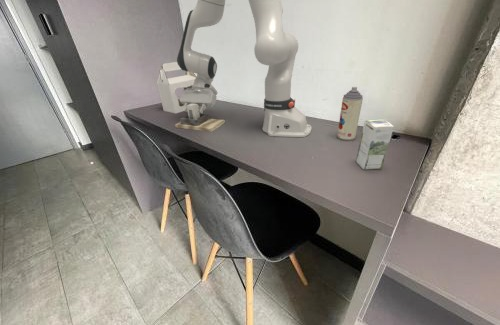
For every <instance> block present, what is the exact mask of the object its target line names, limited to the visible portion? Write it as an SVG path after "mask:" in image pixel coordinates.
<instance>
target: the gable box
mask: <svg viewBox="0 0 500 325" xmlns="http://www.w3.org/2000/svg"><path fill="white" fill-rule="evenodd" d="M160 67H161V69H160V70H159V74H158V78H157V81H156V87H157V90H158V93H159V97H160V102H161V104H162V110H163V111H164V112H167V113H172V114H175V115H176V114H178V113H182V112H185V111H184V110H185V105H183V104H182V103H181V102H180V99H178V96H177V95H176V90H177V89H180V88H181V89H182V88H183V91H184V90H185V89H187V88H192V86H193V83H194V80H195V78H196V77H197V74H196V73H193V72H189V71H184V75H180V76H175V77H169V78H168V77H167V75H166V73H168V72H172V71H179V70H182V69H181V68H180V67H179V65H178V63H177V61H172V62H165V63H162V65H160Z"/></svg>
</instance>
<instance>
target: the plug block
mask: <svg viewBox="0 0 500 325" xmlns="http://www.w3.org/2000/svg"><path fill="white" fill-rule="evenodd" d="M186 106H187V111H188V112H187V115H188V116H189V119H198V118H200V114H199V112H198V111H199V109H200V108H199V106H198V104H193V103H191V104H189V105H186Z"/></svg>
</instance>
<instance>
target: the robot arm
mask: <svg viewBox="0 0 500 325" xmlns="http://www.w3.org/2000/svg"><path fill="white" fill-rule="evenodd" d="M248 3H249V6H250V9H251V13H252V18H253V20H254V27H255V38H256V42H255V45H254V55H255V56H254V57H255V59H256V61H258V62H259V63H260V64H262V65H265V66H268V70H267V73H266V76H265V78H264V100H263V108H264V119H263V125H262V131H263V132H264V133H266V134H267V135H268V136H269V137H283V138H284V137H285V138H287V137H289V138H290V137H291V138H305V137H307V136H309V134H311V132H312V130H313V129H312V126H311V124H308V122H307V117H306V115H305V114H304V113H303V112H302V111H300V110H299V109H298V108H297V107H295V106H296V105H295V104H296V98H295V99H293V98H292V97H291V93H292V92H291V90H292V88H291V87H292V76H293V72H294V71H293V70H294V66H295V60H296V55H297V53H298V50H299V43H298V40H297V38H296V37H295V36H294V35H293V34H291V33H289V32H284V30H283V17H282V16H283V12H284V10H283V9H284V8H283V5H282V1H281V0H248ZM225 5H226V0H197V3H196V5H195V7H194V9H192V10H190V11H189V13H188V15H187V18H186V21H185V26H184V30H183V34H182V39H181V43H180V47H179V50H178V54H177V57H176V62H177V63H178V65H179V67H180V68H181V69H180V70H182V71H184V72H185V71H189V72H193V73H194V74H196V78H195V80H194V83H193V86H192V88H187V89H185V90H184V89H183V92H182V93H181V95H180V97H179V100H180V102H181V103H182V104H183V105H185V110H184V111H183V112H185V113H188V111H187V106H186V105H189V104H191V103H193V104H198V107H200V108H199V111H198V112H199V113H203V114H204V111H205V110H206V109H207V107H211V108H212V107H214V106H215V104H216V103H217V102H216V101H217V95H218V91H217V89H216V88H215V87H214V86H213V85H212V82H213V81H214V78H215V77H216V73H217V71H218V63H217V62H216V60H215V58H214V57H213V56H211V55H209V54H206V53H202V52H198V51H196V50H194V49H192V44H193V40H194V35H195V33H196V30H198V29H200V28H205V27H206V28H207V27H211V26H215V25H217V24H219V23H220V22H221V20H222V19H223V15H224V11H225Z"/></svg>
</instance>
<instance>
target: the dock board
mask: <svg viewBox="0 0 500 325" xmlns="http://www.w3.org/2000/svg"><path fill="white" fill-rule="evenodd" d="M199 114H200V118H198V119H189V116H188V114H187V115H185V116H182V117H180V118H179V122H177V123H176V124H174V127H175V128H178V129H185V130H193V131H194V130H195V131H203V132H210V133H211V132H213V131H215V130H217V129H218V128H219V127H221V126H223V125H224V124H225V123H226V120H225V119H218V118H217V119H215V118H210V116H209V115H210V114H209V113H204V112H203V113H199Z"/></svg>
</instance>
